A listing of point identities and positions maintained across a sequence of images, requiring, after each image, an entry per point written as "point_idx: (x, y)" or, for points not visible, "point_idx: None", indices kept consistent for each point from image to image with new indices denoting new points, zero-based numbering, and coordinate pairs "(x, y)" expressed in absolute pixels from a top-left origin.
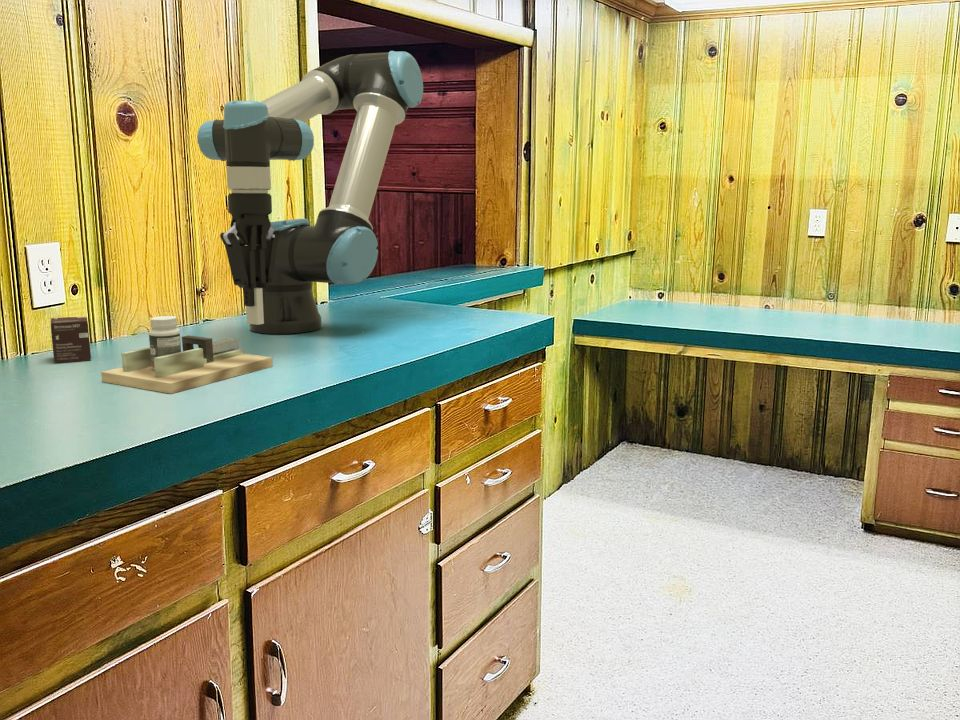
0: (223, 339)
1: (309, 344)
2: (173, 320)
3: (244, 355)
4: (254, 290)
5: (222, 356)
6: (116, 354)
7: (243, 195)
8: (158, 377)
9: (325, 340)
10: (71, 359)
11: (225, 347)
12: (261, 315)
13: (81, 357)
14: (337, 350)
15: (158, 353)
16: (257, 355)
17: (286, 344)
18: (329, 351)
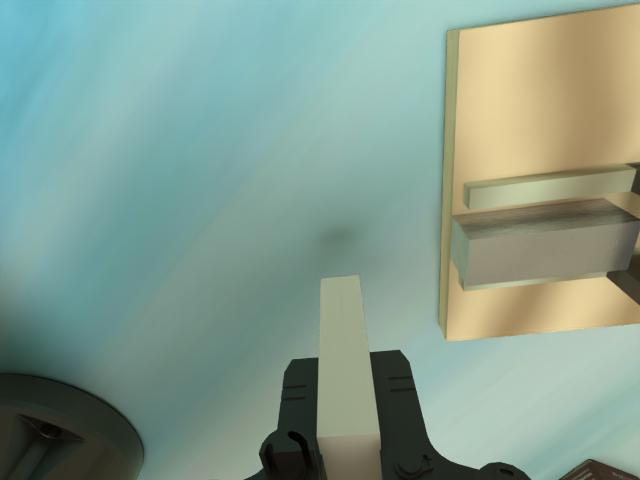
0: (499, 278)
1: (98, 241)
2: None
3: (482, 161)
4: (380, 433)
5: (584, 172)
6: None
7: None
8: None
9: (15, 250)
10: (620, 475)
11: (534, 222)
12: (334, 302)
13: (608, 472)
14: (61, 65)
15: None
16: (459, 119)
17: (161, 294)
18: (100, 78)
